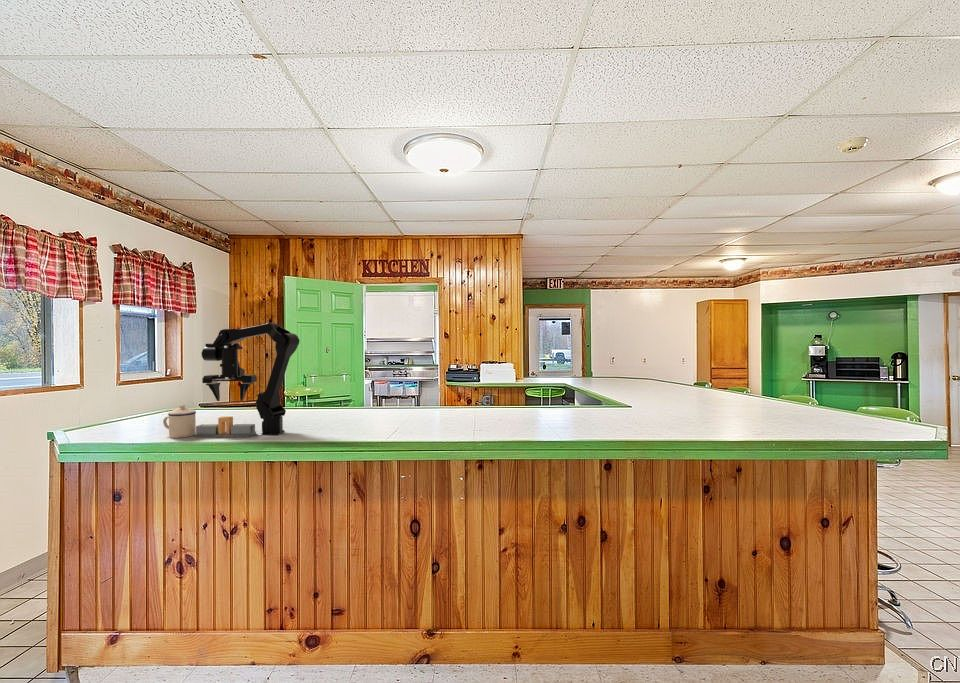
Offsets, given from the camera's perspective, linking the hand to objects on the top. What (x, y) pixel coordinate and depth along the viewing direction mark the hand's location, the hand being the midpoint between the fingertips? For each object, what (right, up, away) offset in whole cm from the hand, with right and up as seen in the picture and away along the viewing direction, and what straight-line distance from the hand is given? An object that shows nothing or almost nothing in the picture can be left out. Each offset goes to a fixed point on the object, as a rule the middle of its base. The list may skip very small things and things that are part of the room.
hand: (230, 400), depth 195 cm
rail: (+2, -12, -8) cm, 15 cm away
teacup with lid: (-16, -12, -7) cm, 21 cm away
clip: (+2, -11, -8) cm, 14 cm away
